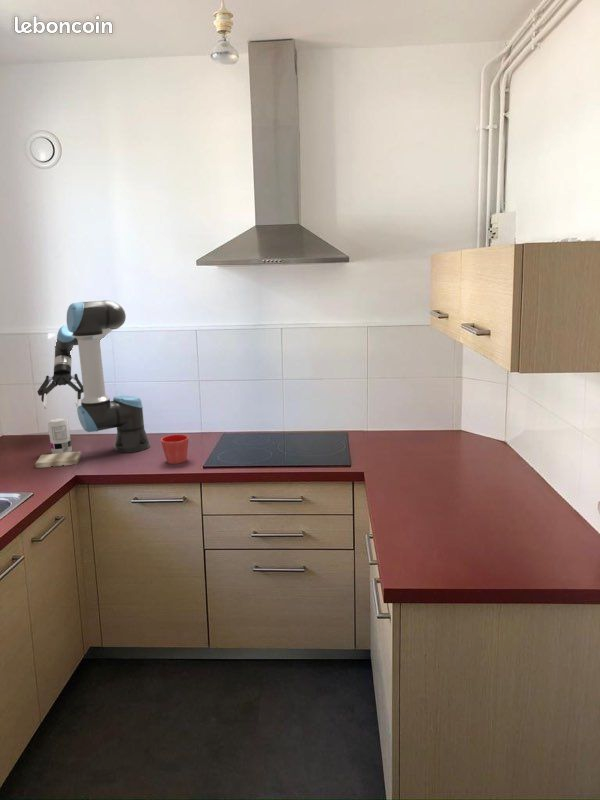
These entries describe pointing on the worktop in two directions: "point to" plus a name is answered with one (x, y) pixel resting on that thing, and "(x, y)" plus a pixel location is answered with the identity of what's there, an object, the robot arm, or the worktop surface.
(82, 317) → the robot arm
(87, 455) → the worktop surface
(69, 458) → the birch board
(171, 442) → the flower pot
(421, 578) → the worktop surface
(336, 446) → the worktop surface
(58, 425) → the supplement can
